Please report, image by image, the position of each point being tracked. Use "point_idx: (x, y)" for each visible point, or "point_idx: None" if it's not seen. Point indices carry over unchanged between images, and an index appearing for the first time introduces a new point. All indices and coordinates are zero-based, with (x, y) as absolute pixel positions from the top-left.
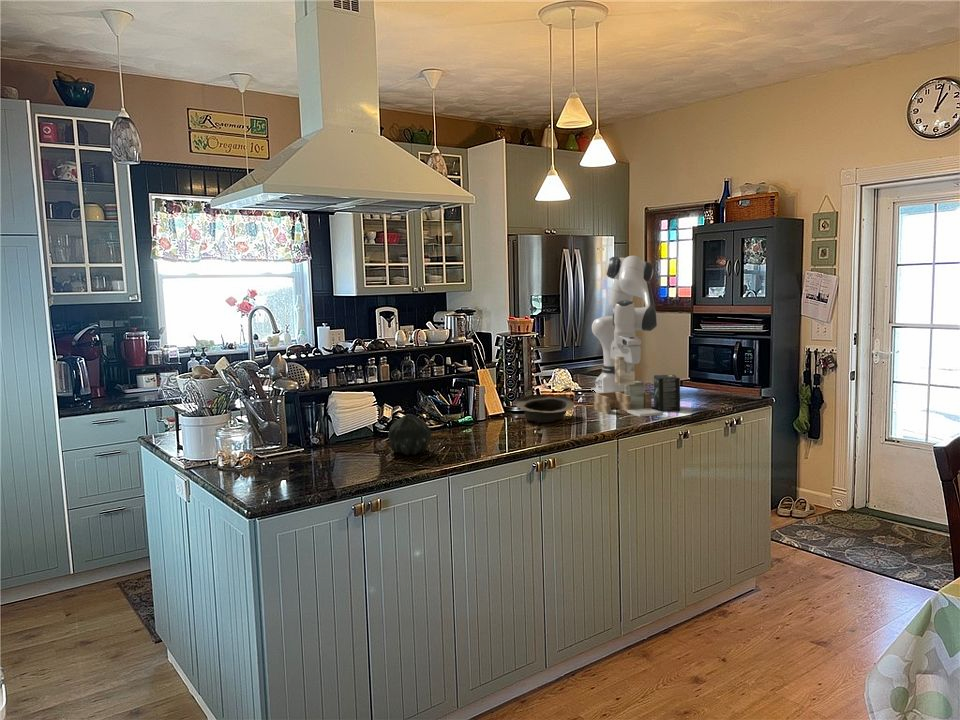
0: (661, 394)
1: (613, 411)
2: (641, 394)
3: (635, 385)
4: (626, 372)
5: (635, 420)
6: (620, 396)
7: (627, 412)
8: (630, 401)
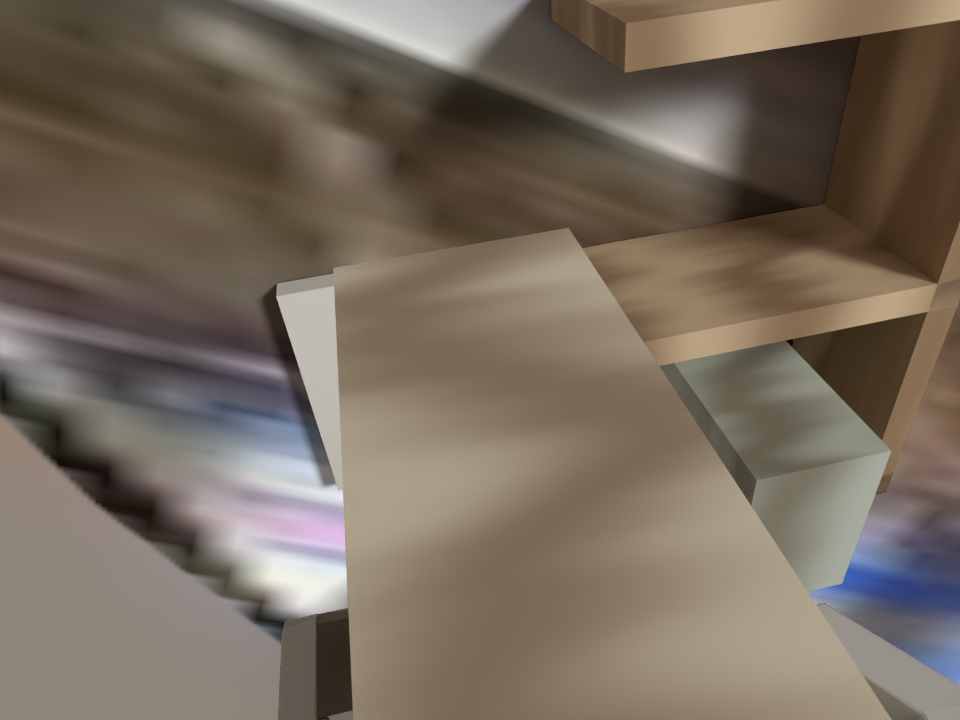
0: None
1: (655, 117)
2: None
3: None
4: (333, 615)
5: (66, 179)
6: (786, 292)
7: None
8: None
